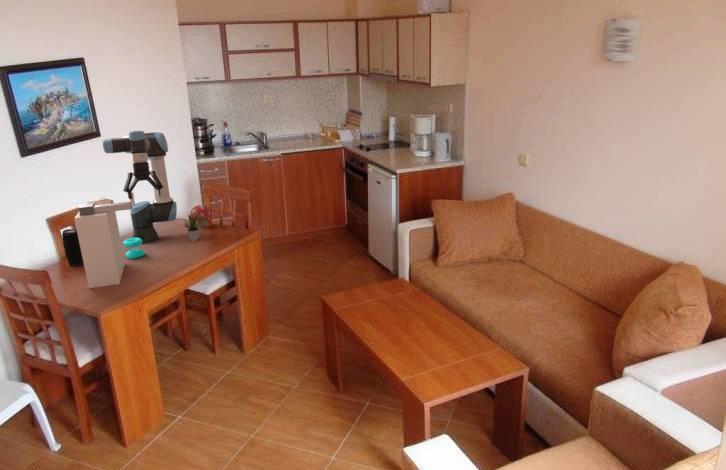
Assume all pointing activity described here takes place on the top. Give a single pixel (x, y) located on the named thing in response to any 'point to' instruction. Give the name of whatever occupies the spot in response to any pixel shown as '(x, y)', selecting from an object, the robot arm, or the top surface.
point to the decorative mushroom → (201, 211)
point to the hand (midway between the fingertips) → (145, 204)
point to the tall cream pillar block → (100, 247)
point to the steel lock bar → (103, 208)
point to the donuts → (134, 252)
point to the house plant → (193, 227)
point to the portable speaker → (72, 247)
